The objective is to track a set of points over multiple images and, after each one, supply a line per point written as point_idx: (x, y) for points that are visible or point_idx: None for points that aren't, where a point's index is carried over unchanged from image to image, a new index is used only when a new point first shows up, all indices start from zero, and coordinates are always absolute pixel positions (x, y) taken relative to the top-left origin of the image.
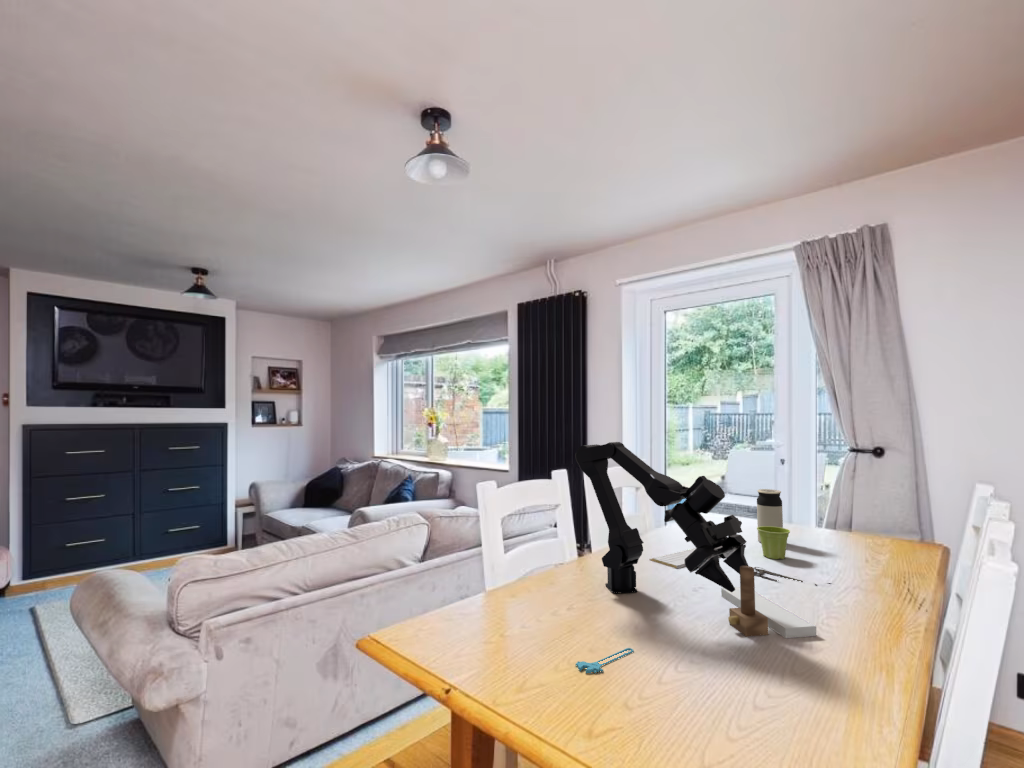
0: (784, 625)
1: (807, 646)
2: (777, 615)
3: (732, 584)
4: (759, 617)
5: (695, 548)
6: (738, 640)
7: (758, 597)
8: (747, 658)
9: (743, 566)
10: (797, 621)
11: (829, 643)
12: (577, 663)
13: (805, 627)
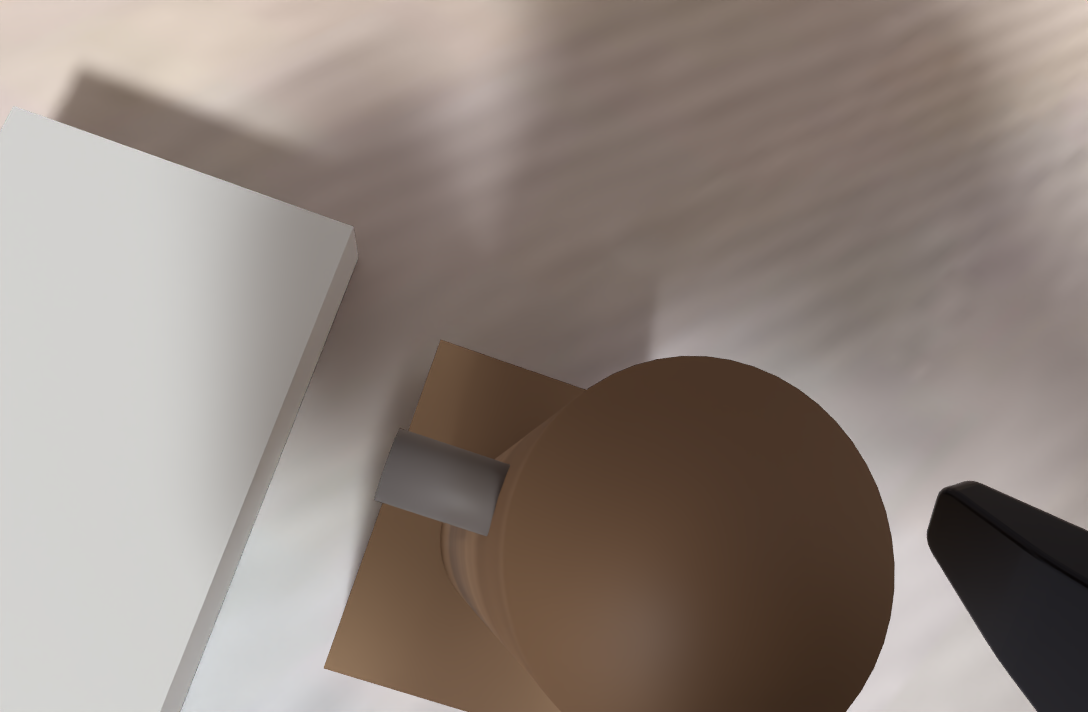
0: (295, 271)
1: (341, 85)
2: (97, 473)
3: (1020, 528)
4: (513, 390)
5: None
6: None
7: None
8: (910, 199)
9: (702, 700)
10: (68, 263)
11: (116, 22)
12: None
13: (136, 153)
